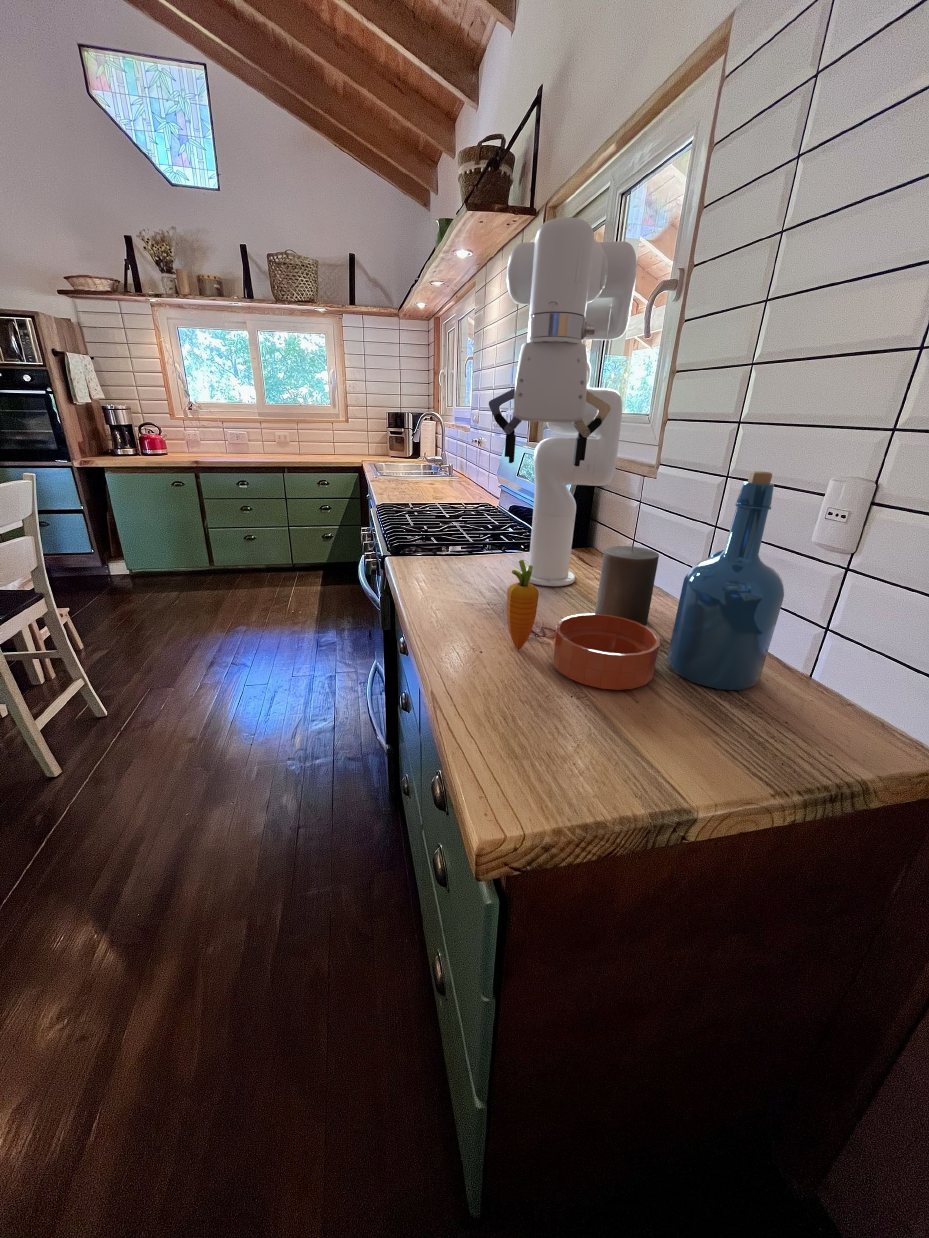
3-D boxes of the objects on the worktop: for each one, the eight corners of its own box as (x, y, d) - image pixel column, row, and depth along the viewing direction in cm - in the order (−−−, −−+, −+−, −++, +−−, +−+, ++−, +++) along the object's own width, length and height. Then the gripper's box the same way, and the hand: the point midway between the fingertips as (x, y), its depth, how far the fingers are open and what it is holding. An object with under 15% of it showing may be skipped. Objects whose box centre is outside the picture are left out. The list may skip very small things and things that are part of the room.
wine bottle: (769, 701, 70) (837, 481, 58) (668, 684, 73) (714, 473, 61) (748, 659, 82) (801, 470, 70) (663, 646, 85) (700, 464, 74)
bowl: (550, 642, 85) (553, 610, 83) (641, 650, 83) (647, 617, 81) (554, 687, 71) (558, 650, 69) (663, 697, 70) (671, 659, 67)
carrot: (532, 657, 80) (540, 568, 74) (501, 654, 80) (507, 565, 75) (534, 644, 84) (542, 559, 78) (505, 641, 85) (511, 556, 79)
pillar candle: (651, 633, 90) (667, 553, 84) (596, 629, 91) (608, 549, 85) (640, 613, 99) (654, 540, 93) (591, 610, 100) (601, 536, 94)
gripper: (615, 339, 71) (598, 465, 77) (494, 336, 72) (487, 459, 79) (625, 330, 64) (605, 469, 70) (490, 327, 65) (483, 463, 72)
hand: (543, 464), depth 74 cm, fingers open, 9 cm apart
